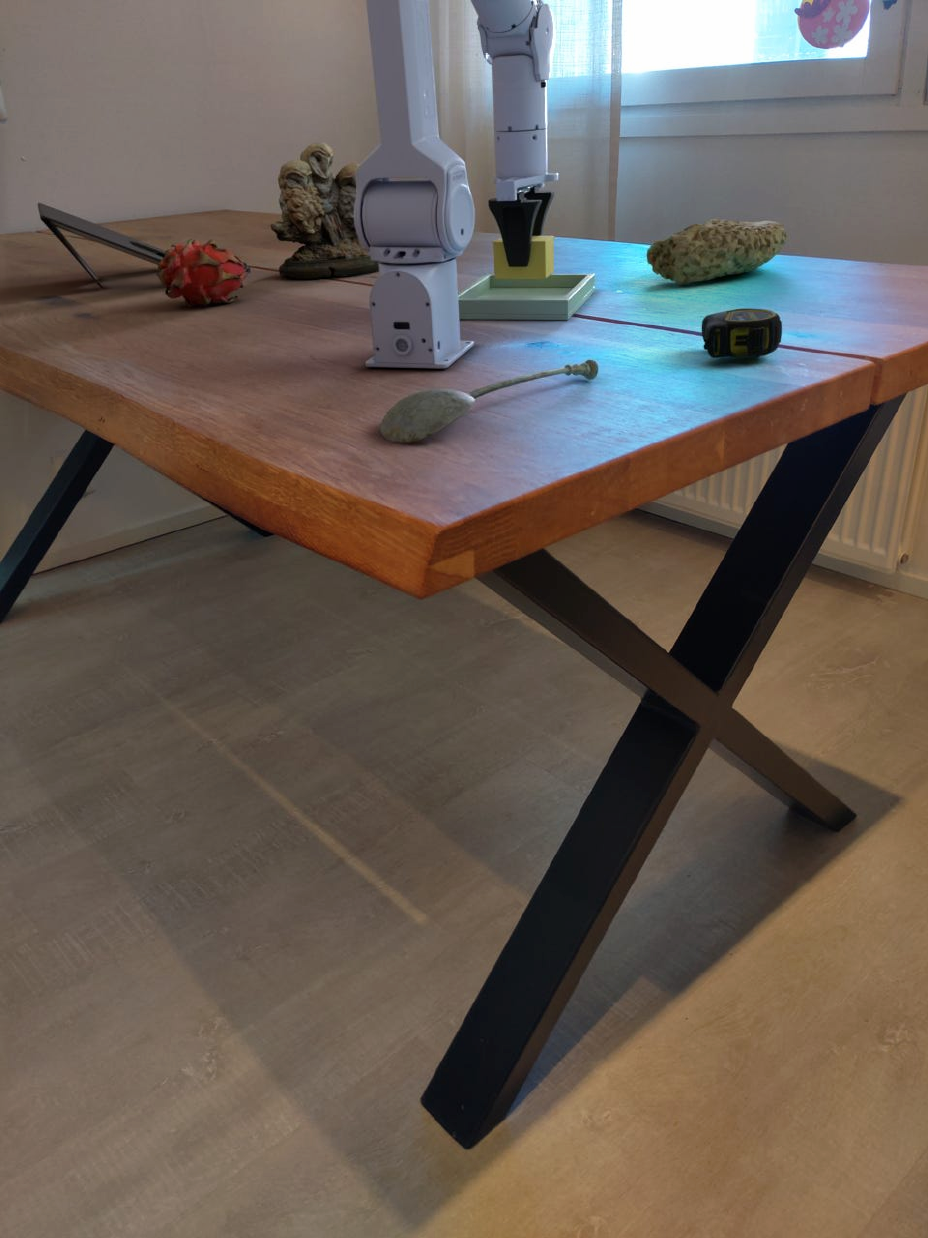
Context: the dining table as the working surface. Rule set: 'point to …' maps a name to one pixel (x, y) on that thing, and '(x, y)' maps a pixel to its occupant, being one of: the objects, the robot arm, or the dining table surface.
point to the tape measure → (741, 333)
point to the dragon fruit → (201, 273)
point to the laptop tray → (95, 237)
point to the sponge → (716, 250)
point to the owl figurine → (320, 217)
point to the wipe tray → (525, 297)
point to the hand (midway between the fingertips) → (523, 262)
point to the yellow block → (537, 265)
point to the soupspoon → (453, 405)
